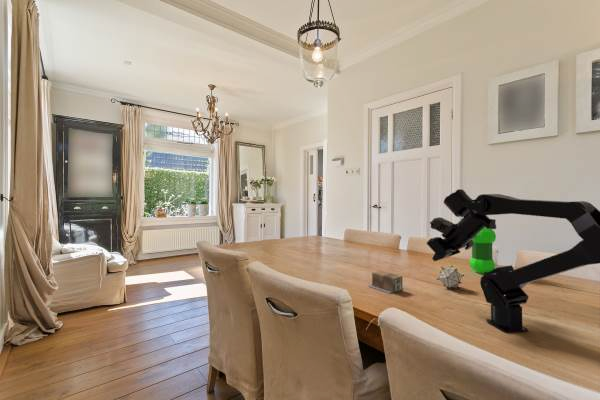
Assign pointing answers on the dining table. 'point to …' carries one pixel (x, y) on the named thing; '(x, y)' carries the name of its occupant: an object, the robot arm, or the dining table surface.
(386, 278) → the grey rectangular block
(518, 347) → the dining table surface
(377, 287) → the felt mat
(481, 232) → the plastic bottle
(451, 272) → the grey spiky ball
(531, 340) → the dining table surface
